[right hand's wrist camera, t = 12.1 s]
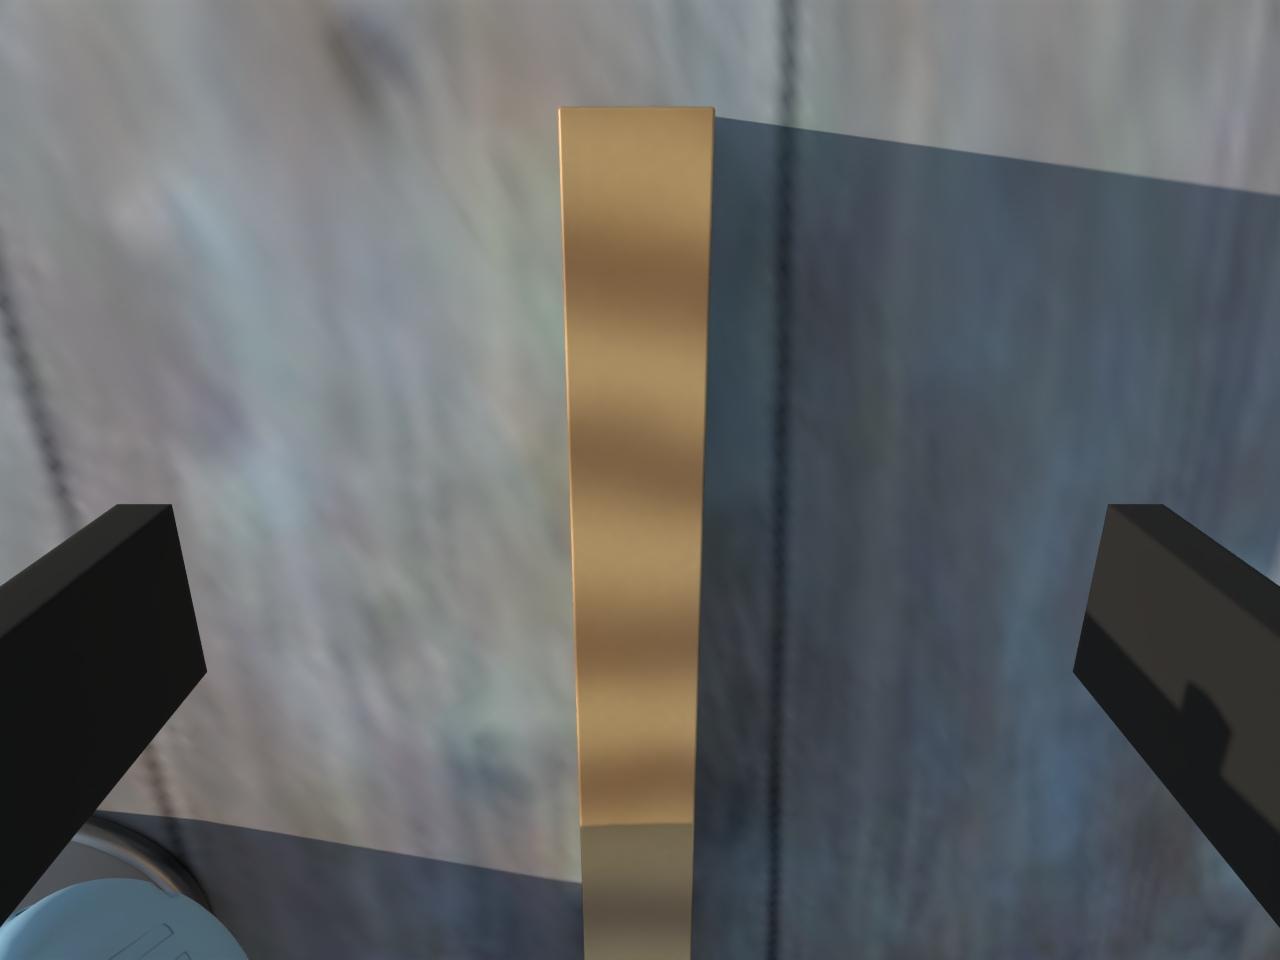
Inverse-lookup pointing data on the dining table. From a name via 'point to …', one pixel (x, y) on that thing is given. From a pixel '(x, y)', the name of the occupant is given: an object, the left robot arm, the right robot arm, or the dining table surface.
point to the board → (637, 505)
